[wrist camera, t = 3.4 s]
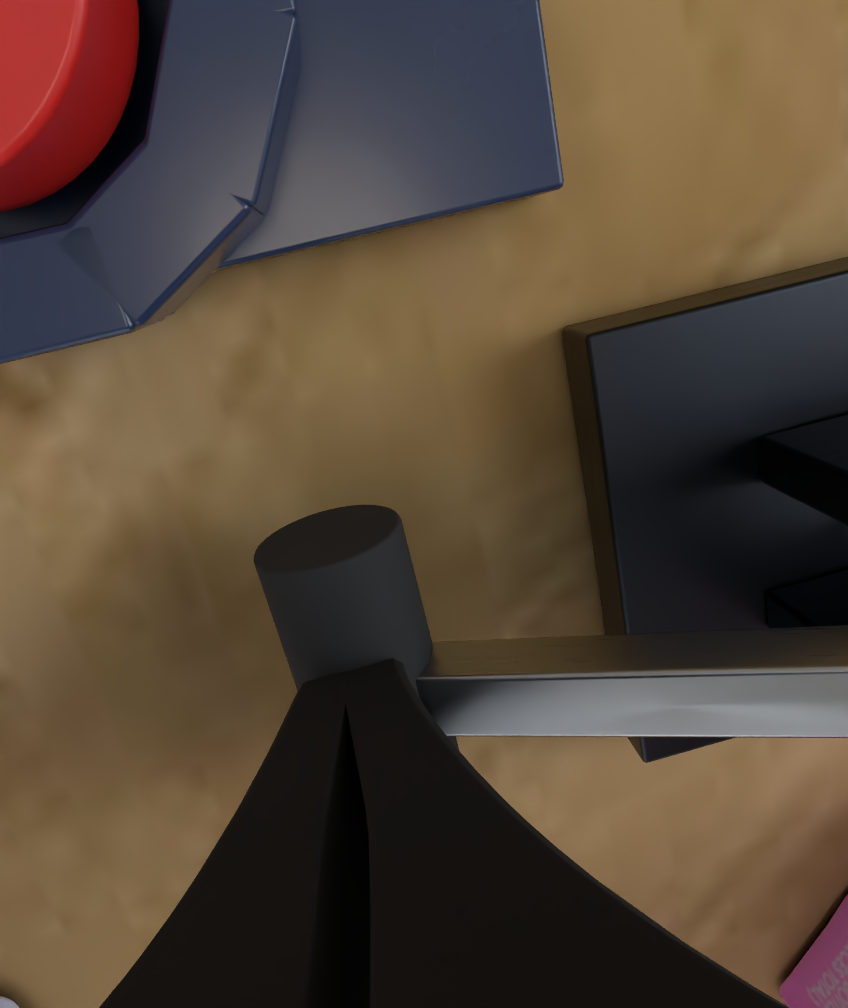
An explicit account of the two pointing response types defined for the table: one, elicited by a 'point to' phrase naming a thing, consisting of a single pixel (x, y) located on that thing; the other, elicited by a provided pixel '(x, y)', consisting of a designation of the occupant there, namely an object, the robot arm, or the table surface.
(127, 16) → the button
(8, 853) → the table surface
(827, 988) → the gum box
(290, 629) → the lever
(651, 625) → the bracket
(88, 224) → the control block
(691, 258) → the table surface
